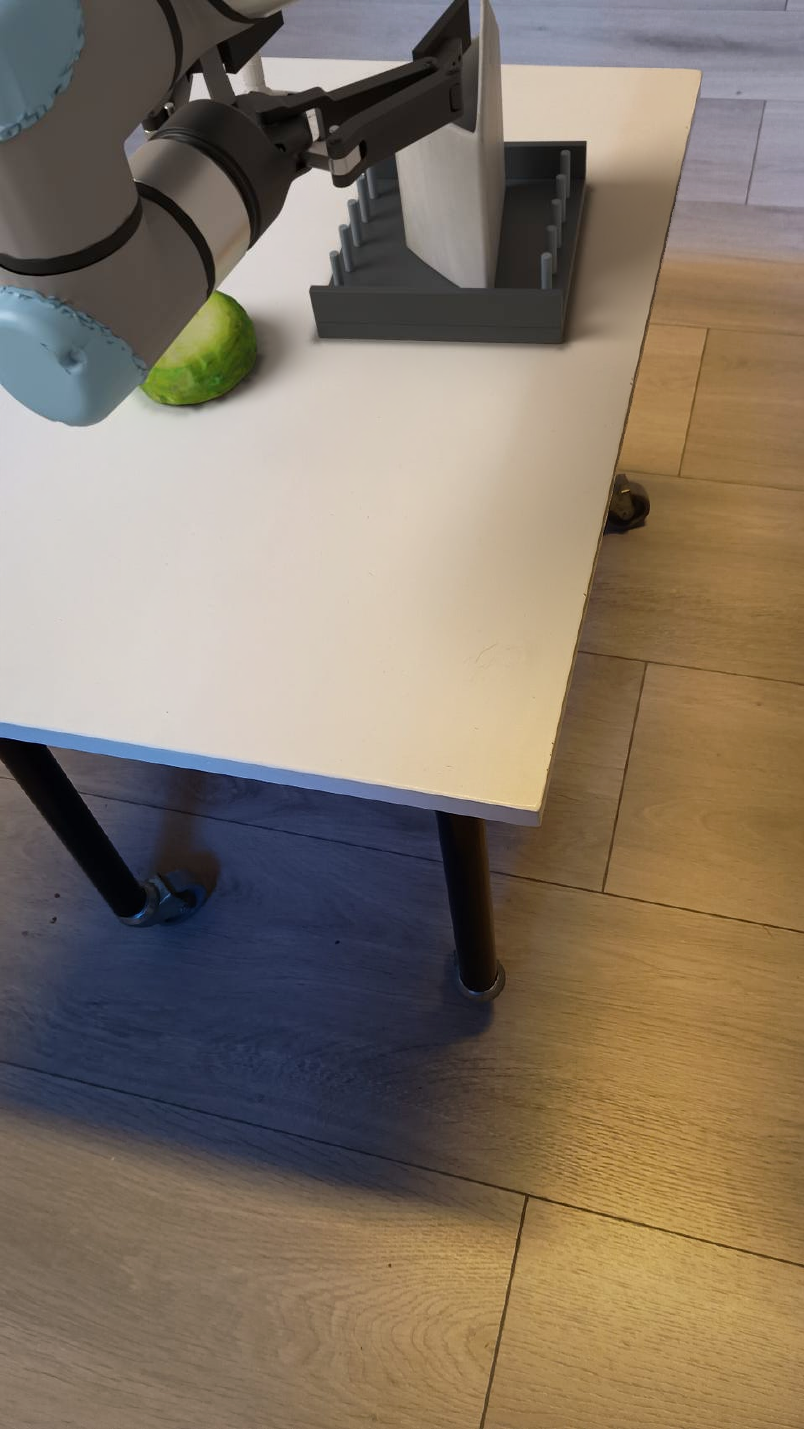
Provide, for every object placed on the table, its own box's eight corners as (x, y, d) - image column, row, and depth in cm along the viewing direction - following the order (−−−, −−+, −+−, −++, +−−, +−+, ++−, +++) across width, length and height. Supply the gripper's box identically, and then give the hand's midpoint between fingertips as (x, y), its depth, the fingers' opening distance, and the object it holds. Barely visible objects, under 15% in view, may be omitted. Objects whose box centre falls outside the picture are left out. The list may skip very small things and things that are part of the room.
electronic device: (360, 48, 99) (206, 37, 102) (372, 155, 107) (228, 141, 110) (379, 18, 101) (228, 8, 105) (388, 124, 109) (248, 112, 113)
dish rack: (585, 189, 99) (587, 128, 95) (560, 344, 88) (561, 283, 84) (368, 189, 103) (359, 131, 98) (318, 337, 92) (306, 280, 87)
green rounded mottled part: (147, 318, 96) (129, 268, 92) (269, 316, 94) (256, 264, 90) (113, 411, 90) (92, 361, 86) (243, 410, 88) (227, 360, 84)
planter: (417, 190, 99) (390, -52, 83) (506, 187, 98) (496, -60, 82) (395, 307, 91) (361, 61, 75) (493, 304, 89) (479, 54, 73)
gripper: (43, 227, 68) (217, 51, 78) (407, 299, 60) (551, 92, 70) (-9, 105, 62) (187, -70, 72) (389, 166, 54) (550, -40, 64)
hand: (367, 10), depth 71 cm, fingers open, 13 cm apart
